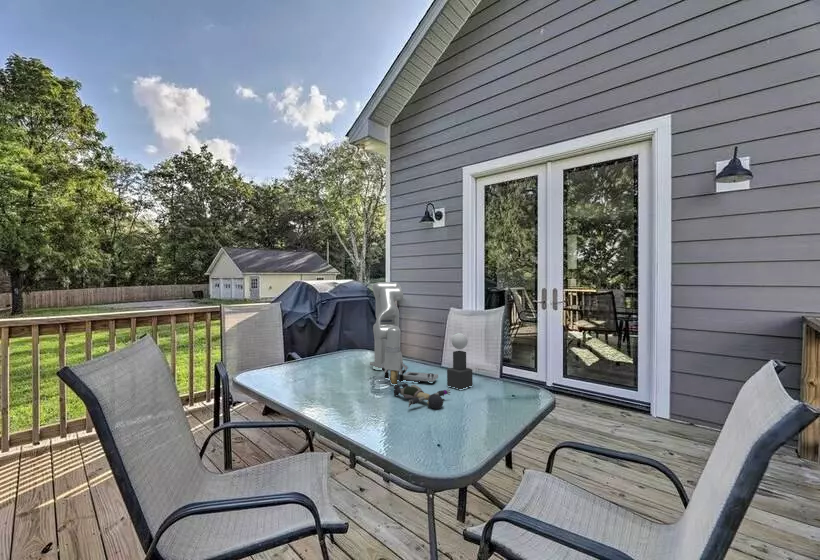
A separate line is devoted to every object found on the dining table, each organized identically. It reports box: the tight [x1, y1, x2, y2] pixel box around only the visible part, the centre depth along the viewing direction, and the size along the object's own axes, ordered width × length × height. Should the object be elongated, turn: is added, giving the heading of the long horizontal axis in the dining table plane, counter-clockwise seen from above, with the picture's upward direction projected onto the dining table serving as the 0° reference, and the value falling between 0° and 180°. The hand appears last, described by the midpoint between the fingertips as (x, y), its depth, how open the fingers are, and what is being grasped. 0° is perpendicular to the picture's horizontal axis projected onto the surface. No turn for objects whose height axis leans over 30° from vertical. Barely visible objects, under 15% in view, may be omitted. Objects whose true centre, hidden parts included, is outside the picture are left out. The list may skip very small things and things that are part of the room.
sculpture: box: [446, 332, 474, 389], centre depth 205 cm, size 10×10×30 cm
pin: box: [389, 370, 398, 385], centre depth 210 cm, size 4×4×10 cm
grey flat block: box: [397, 371, 439, 382], centre depth 219 cm, size 28×10×5 cm, turn 68°
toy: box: [393, 382, 452, 410], centre depth 180 cm, size 27×7×30 cm
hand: (393, 380), depth 210 cm, fingers open, 8 cm apart
